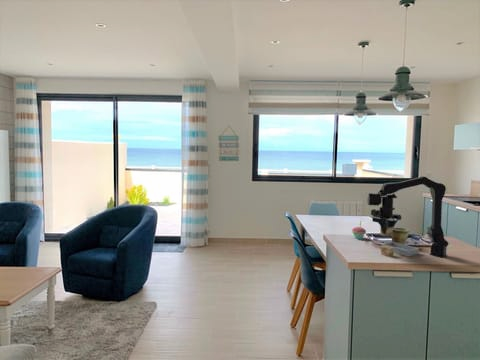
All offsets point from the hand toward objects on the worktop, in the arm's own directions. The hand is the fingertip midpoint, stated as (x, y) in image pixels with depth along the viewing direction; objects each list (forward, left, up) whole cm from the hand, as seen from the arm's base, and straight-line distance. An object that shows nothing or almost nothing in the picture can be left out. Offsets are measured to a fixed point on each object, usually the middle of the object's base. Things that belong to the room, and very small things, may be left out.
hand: (386, 233), depth 187 cm
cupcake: (+27, -12, -11) cm, 31 cm away
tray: (-4, -7, -10) cm, 13 cm away
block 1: (0, 0, -1) cm, 1 cm away
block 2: (-5, +6, -10) cm, 13 cm away
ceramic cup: (+5, -20, -11) cm, 23 cm away
